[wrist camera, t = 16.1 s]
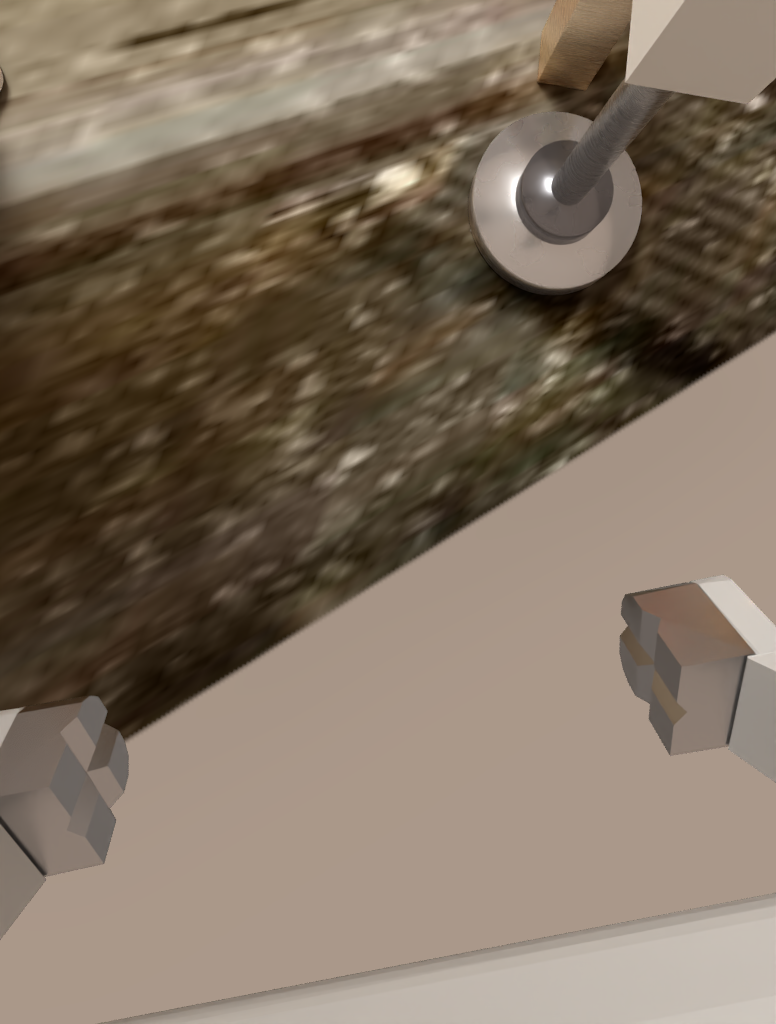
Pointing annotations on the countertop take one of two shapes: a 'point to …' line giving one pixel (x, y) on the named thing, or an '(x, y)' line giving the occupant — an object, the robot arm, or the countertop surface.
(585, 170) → the rod stand
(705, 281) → the countertop surface
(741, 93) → the sleeve
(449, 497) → the countertop surface
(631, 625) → the robot arm
